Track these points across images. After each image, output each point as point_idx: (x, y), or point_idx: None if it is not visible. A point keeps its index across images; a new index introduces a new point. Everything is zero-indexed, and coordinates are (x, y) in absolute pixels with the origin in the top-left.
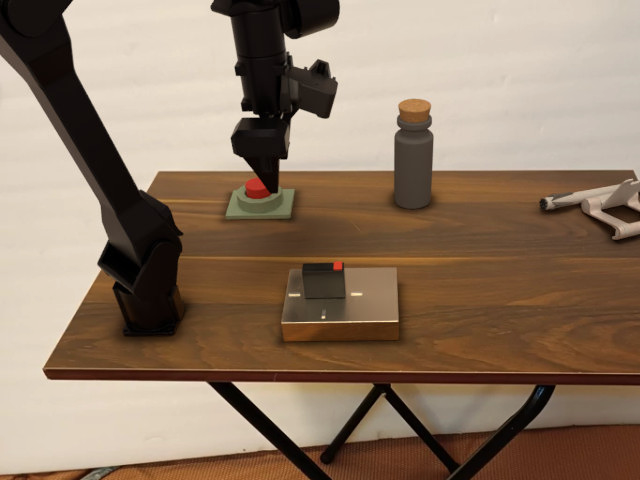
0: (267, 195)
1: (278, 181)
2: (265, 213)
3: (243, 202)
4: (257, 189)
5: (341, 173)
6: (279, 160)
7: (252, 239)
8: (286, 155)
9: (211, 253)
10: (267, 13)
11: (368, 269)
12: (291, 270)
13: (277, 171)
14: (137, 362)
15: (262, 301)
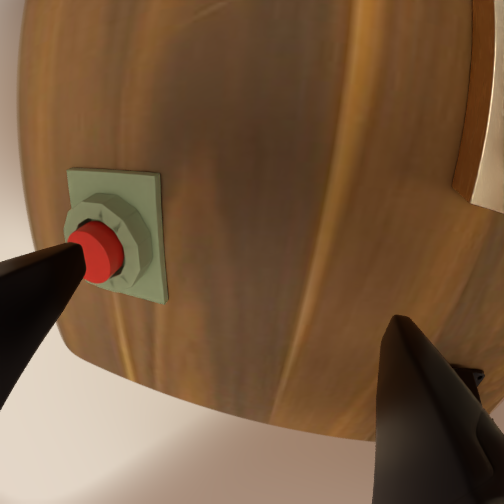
0: (110, 233)
1: (433, 356)
2: (152, 230)
3: (136, 280)
4: (107, 261)
5: (21, 85)
6: (477, 466)
7: (241, 258)
8: (70, 254)
9: (283, 330)
10: None
11: (502, 12)
12: (477, 201)
13: (491, 421)
14: (500, 393)
15: (472, 251)
